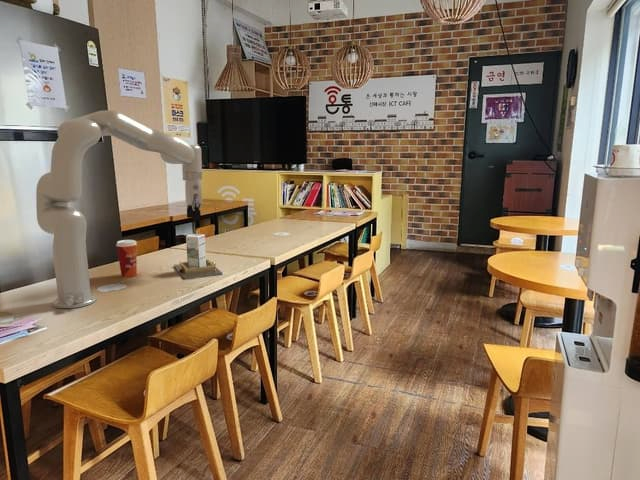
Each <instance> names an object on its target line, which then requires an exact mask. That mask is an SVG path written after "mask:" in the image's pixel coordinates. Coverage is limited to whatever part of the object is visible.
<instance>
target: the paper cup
mask: <svg viewBox="0 0 640 480" xmlns="http://www.w3.org/2000/svg"><path fill="white" fill-rule="evenodd" d="M137 245H138V243H137V241H136V240H134V239H123V240H122V239H121V240H118V241H117V242H116V244H115V246H116V248H117V249H116V250H117V256H118V261H119V268H120V274H121V277H122V278H133V277H136V276H137V272H138V271H137V269H138V268H137V266H138V265H137Z"/></svg>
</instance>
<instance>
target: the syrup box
mask: <svg viewBox="0 0 640 480" xmlns="http://www.w3.org/2000/svg"><path fill="white" fill-rule="evenodd" d="M185 242H186V243H185V244H186V246H185V247H186V259H187V261H186V262H188V268H194V267H203V266H206V260H207V257H206V255H207V253H206V235H205V234H204V233H203V234H202V233H191V234H188V235H186V236H185Z"/></svg>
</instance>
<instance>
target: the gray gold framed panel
mask: <svg viewBox="0 0 640 480" xmlns="http://www.w3.org/2000/svg"><path fill="white" fill-rule="evenodd" d="M173 267H174V268H175V270H176V271H177V272H178V273H179V274H180V276H181V277H182V278H183V280H190V279H191V280H192V279H200V278H207V277H215V276H222V275H223V272H222V271H221V270H220V269H219V268H217V265H216V261H210V260H209V259H206V266H203V267H194V268H188V262H187V261H182V262H179V263H178V264H173Z"/></svg>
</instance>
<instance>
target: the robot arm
mask: <svg viewBox="0 0 640 480" xmlns="http://www.w3.org/2000/svg"><path fill="white" fill-rule="evenodd" d="M105 136H107V137H109V136H110V137H114V138H115V139H118V140H120V141H122V142H125V143H127V144H128V145H131V146H133V147H135V148H136V149H139V150H143V151H147V152H152V153H153V152H154V153H158V154H160V158H161V160H163V162H165V163H167V164H171V165H181V168H182V170H181V171H182V172H181V173H182V181H185V182H184V187H185V188H184V189H185V190H184V191H185V193H184V194H185V203H186V218H187V219H188V218H189V219H191V220H192V221H193V222H195V221H196V222H197V221H201V219H202V217H201V206H202V205H203V203H204V202H203V191H202V189H203V188H202V182H201V181H203V160H202V148H201V146H199V145H196V144H195V145H192V144H189V143H188V142H186V141H184V140H182V139H180V138H178V137H176V136H174V135H171V134H169V133H166V132H163V131H160V130H157V129H155V128H152V127H150V126H148V125H146V124H144V123H142V122H140V121H139V120H136V119H134V118H132V117H131V116H129V115H127V114H125V113H123V112H121V111H119V110H115V109H106V110H99V111H95V112H92V113H89V114H84V115H82V116H78V117H75V118H71V119H68V120H65V121H63V122H62V123H61V124H59V126H58V129H57V137H58V138H57V139H56V141H55V142H54V144H53V147H52V149H51V159H50V172H47V173H44V174H43V175H42V176H40V178H39V179H38V181H37V184H36V189H35V190H36V194H35V195H36V196H35V197H36V198H35V199H36V206H35V207H36V220H37V224H38V226H39V228H40V229H41V230H42V231H43V232H45V233H48V234H51V235H53V241H52V256H53V257H52V258H53V264H54V266H53V267H54V272H55V273H54V274H55V280H56V281H55V282H56V290H57V297H58V298H56V299H54V300H53V302H52V303H53V307H54V308H57V309H76V308H82V307H85V306H89V305H92V304H93V303H95V302H96V301H97V295H95V294H93V293H92V292H91V283H90V282H91V281H90V271H89V262H88V261H89V260H88V254H87V253H88V252H87V243H86V241H87V229H88V228H87V219H86V218H85V215H84V214H83V213H82V212H81V211H79V210H78V209H76V208H75V207H70V206H69V205H68V203H69V204H70V203H74V202H76V201H78V200H79V199H80V198H81V196H82V193H83V182H82V181H83V180H82V179H83V178H82V177H83V174H82V173H83V171H82V170H83V169H82V167H83V158H84V156H85V153H86V152H87V151H88V149H90V148H91V147H92V146H94V145H96V144H97V143H98V142H99V141H100V139H101V138H102V137H105Z"/></svg>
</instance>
